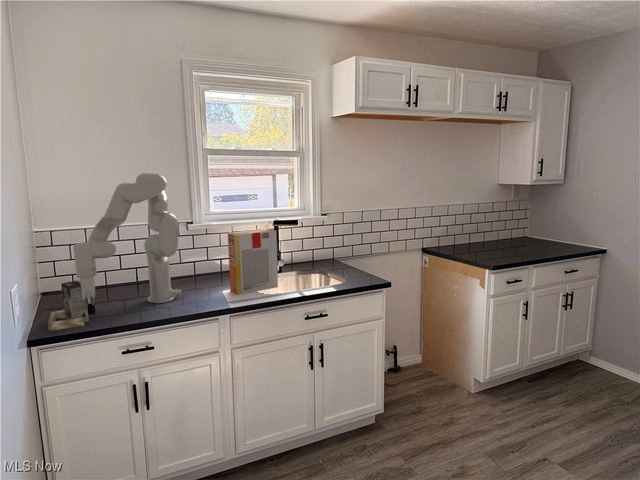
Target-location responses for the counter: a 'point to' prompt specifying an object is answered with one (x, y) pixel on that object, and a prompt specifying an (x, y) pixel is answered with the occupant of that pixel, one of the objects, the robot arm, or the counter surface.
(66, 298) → the coffee box
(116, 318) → the counter surface
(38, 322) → the counter surface
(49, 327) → the dock
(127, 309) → the counter surface
